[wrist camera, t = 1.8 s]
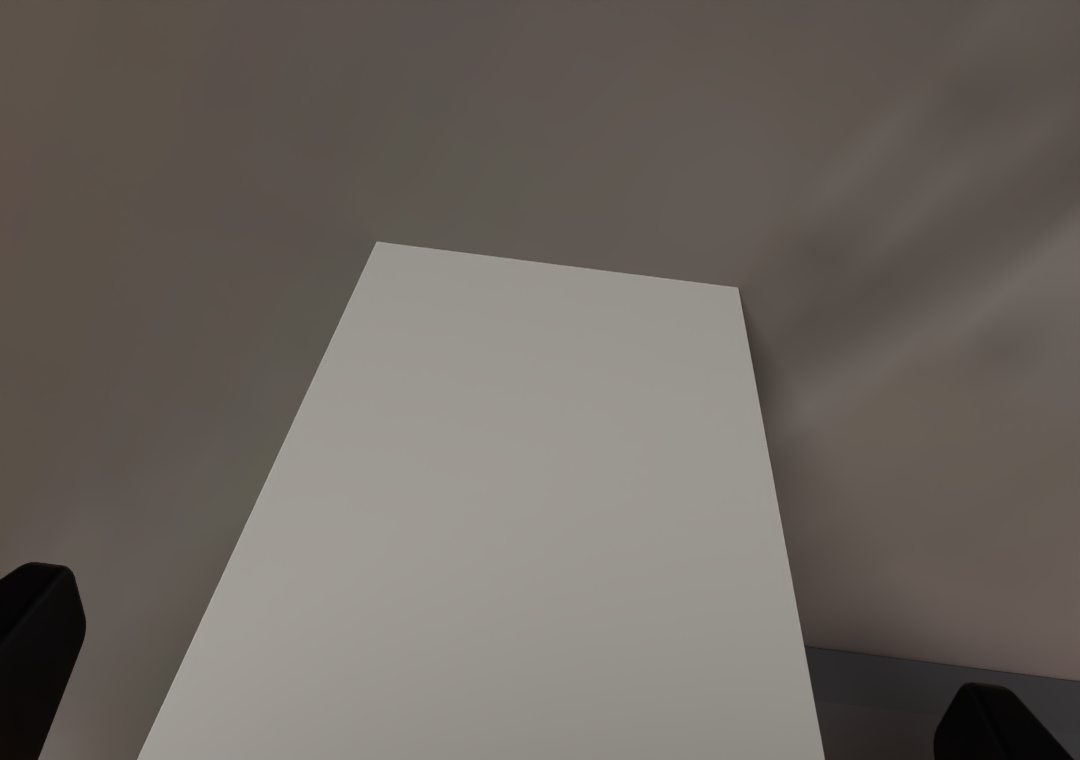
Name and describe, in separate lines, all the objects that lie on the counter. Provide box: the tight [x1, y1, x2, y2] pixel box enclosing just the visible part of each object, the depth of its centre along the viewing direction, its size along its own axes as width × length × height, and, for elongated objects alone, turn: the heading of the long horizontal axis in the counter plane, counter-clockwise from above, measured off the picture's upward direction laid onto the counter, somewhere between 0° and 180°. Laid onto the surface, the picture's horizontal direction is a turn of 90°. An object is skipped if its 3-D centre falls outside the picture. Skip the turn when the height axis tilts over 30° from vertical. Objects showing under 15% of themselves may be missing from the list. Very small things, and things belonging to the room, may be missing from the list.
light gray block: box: [137, 242, 825, 760], centre depth 9 cm, size 4×4×8 cm
